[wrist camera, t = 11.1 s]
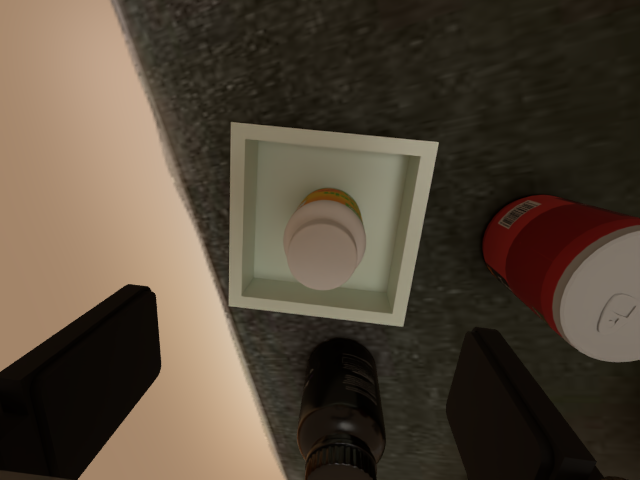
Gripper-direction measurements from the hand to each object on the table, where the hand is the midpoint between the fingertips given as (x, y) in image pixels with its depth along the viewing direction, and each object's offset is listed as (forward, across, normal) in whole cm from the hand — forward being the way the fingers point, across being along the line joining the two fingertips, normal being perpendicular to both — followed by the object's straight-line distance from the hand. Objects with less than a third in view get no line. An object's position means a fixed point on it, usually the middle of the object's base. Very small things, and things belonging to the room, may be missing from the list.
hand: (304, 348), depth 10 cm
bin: (+19, 0, +1) cm, 19 cm away
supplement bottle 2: (+19, -3, +16) cm, 25 cm away
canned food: (+20, -17, +1) cm, 26 cm away
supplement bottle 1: (+18, 0, +1) cm, 19 cm away
